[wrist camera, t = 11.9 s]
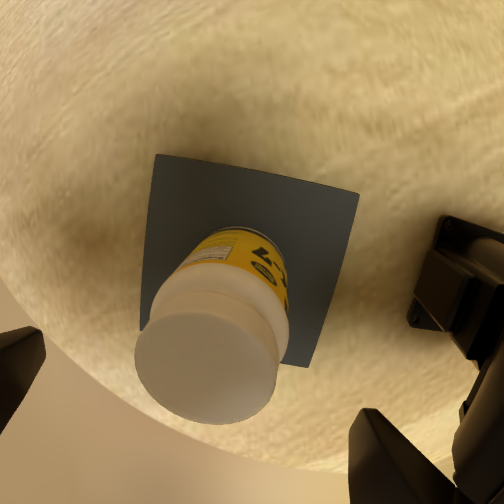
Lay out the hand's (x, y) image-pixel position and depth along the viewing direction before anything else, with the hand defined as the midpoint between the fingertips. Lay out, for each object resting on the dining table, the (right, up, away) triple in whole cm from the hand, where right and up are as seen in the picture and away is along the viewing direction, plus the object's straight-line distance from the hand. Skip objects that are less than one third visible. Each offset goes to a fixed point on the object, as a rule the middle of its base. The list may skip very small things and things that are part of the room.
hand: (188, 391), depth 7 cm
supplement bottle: (+1, +3, +9) cm, 9 cm away
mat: (+1, +3, +9) cm, 10 cm away
